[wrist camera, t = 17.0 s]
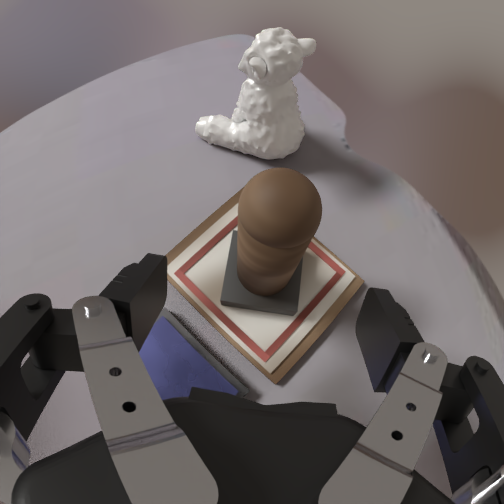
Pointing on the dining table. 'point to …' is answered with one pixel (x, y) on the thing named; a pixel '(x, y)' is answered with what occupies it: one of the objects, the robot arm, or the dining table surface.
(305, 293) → the framed board
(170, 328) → the ink pad
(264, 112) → the seated beast figurine
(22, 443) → the robot arm
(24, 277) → the dining table surface
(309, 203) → the stamp
